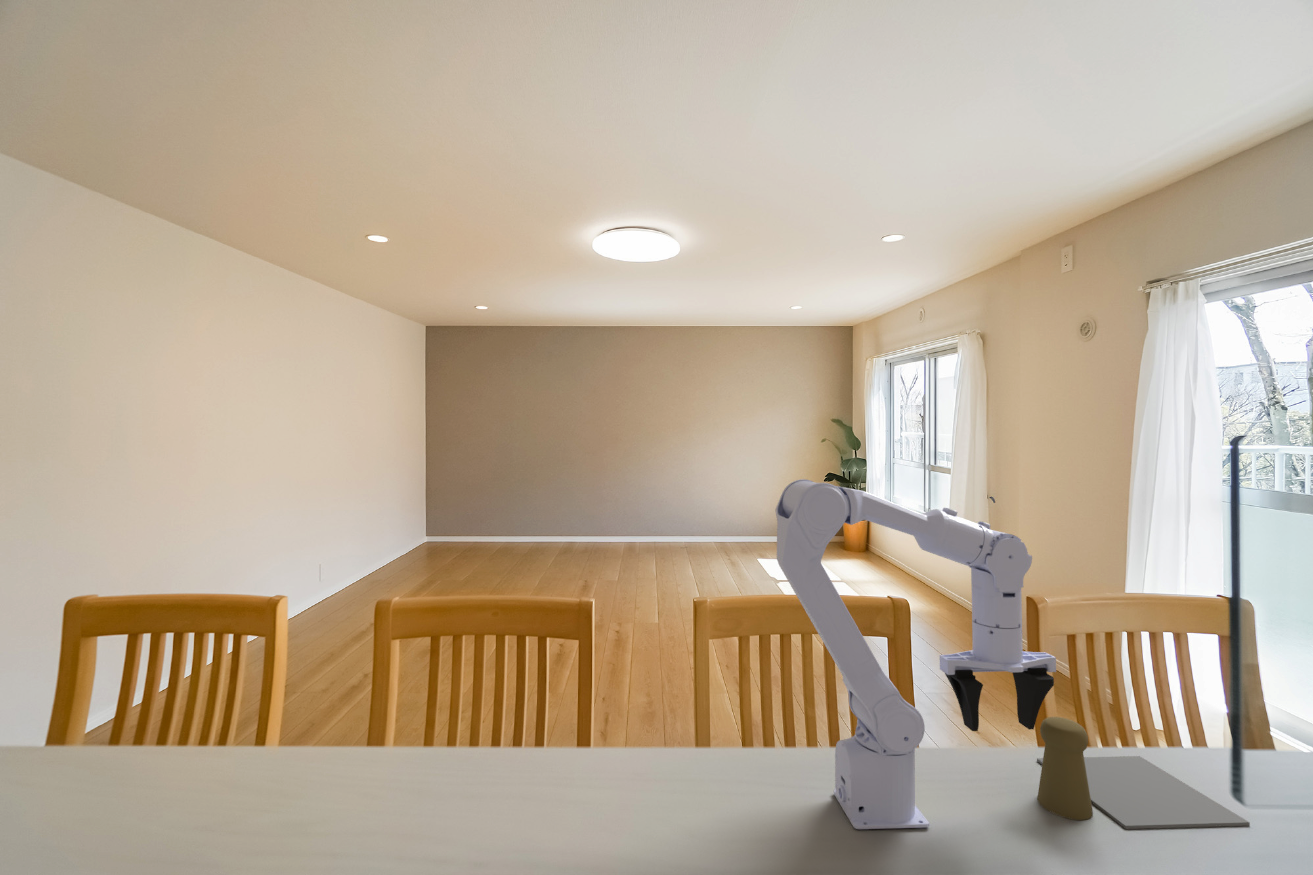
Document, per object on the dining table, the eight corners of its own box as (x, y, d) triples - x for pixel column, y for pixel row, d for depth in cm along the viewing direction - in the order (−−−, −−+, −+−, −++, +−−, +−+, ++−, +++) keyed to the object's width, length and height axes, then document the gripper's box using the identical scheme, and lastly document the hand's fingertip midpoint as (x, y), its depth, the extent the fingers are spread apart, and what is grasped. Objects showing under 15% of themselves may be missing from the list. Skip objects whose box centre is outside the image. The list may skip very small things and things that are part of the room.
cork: (1102, 822, 75) (1101, 734, 75) (1049, 816, 76) (1048, 729, 76) (1079, 795, 80) (1078, 713, 81) (1029, 790, 82) (1028, 709, 82)
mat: (1125, 828, 73) (1125, 825, 73) (1036, 760, 89) (1036, 758, 89) (1249, 825, 74) (1249, 822, 74) (1139, 758, 90) (1139, 755, 90)
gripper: (959, 632, 74) (961, 743, 74) (1072, 630, 75) (1075, 739, 74) (930, 616, 81) (932, 717, 81) (1034, 614, 82) (1036, 714, 81)
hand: (998, 726), depth 78 cm, fingers open, 7 cm apart
